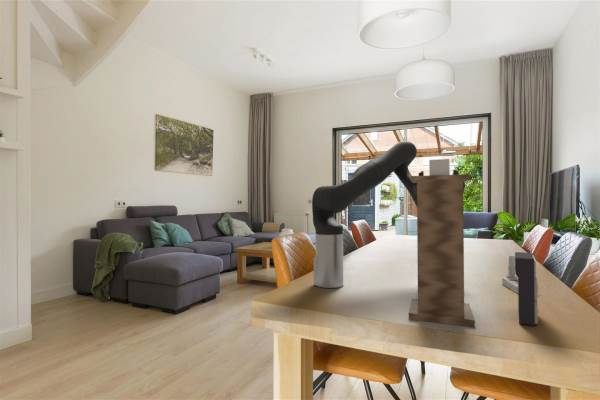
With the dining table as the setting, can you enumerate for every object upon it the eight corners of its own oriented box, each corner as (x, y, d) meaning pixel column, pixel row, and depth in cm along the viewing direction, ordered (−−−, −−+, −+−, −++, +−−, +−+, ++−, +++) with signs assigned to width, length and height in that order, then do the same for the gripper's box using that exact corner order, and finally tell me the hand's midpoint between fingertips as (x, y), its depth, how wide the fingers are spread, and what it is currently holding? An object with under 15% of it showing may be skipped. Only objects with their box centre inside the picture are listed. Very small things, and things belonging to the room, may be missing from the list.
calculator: (539, 327, 75) (538, 259, 75) (515, 323, 77) (515, 257, 77) (536, 313, 84) (535, 252, 84) (515, 310, 86) (514, 251, 87)
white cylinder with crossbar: (430, 180, 101) (430, 168, 101) (446, 180, 99) (446, 167, 99) (429, 175, 81) (429, 159, 81) (449, 175, 80) (449, 158, 80)
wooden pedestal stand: (408, 319, 80) (407, 175, 81) (412, 303, 93) (411, 179, 93) (474, 326, 75) (473, 173, 75) (468, 309, 88) (467, 177, 88)
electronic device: (519, 264, 101) (499, 254, 115) (519, 297, 101) (499, 283, 116) (539, 264, 100) (517, 255, 114) (539, 298, 100) (516, 284, 115)
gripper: (414, 191, 113) (412, 163, 100) (461, 191, 108) (465, 160, 95) (414, 211, 110) (411, 184, 97) (462, 212, 104) (467, 183, 91)
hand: (438, 172), depth 96 cm, fingers open, 8 cm apart
